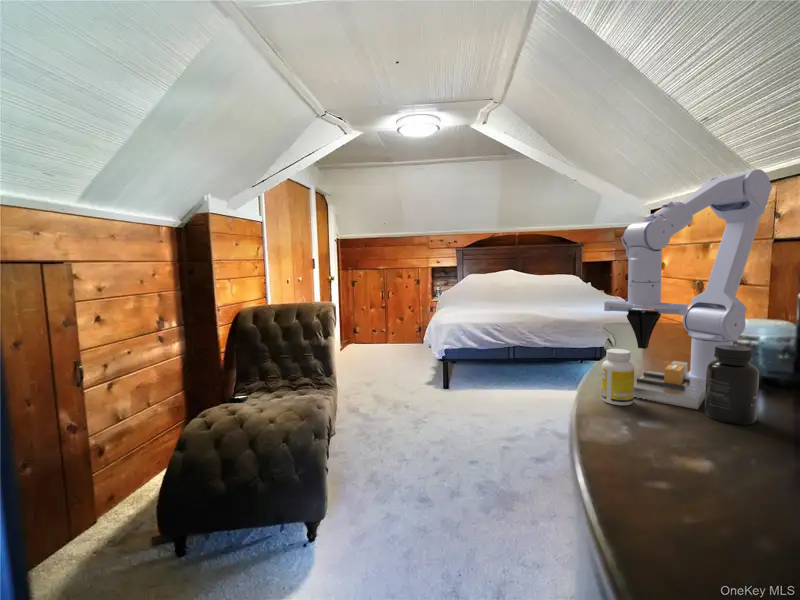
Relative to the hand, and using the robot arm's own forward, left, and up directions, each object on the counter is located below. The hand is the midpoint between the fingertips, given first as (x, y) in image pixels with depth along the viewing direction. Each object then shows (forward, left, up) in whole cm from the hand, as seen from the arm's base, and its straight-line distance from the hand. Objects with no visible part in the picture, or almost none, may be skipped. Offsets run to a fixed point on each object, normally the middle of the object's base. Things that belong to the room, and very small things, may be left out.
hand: (643, 347), depth 84 cm
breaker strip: (0, +5, -9) cm, 10 cm away
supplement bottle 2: (+8, +15, -9) cm, 19 cm away
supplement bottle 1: (+11, -2, -9) cm, 14 cm away
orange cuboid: (0, +5, -6) cm, 8 cm away
